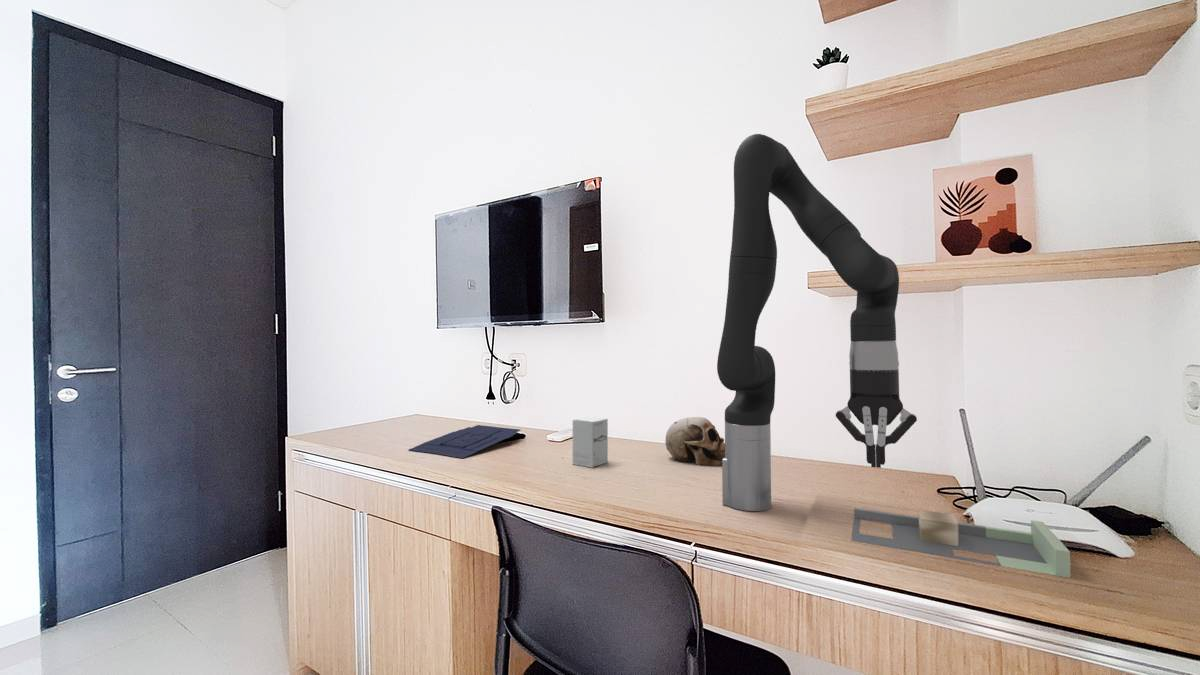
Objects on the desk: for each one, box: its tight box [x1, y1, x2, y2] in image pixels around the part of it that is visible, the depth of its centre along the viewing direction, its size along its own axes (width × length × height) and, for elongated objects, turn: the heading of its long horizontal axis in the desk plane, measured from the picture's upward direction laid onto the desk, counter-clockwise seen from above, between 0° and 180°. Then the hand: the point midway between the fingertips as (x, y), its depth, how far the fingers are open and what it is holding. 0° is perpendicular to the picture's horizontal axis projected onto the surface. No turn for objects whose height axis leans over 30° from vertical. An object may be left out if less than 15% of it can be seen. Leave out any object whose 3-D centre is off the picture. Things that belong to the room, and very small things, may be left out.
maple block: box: [918, 509, 959, 546], centre depth 83 cm, size 5×5×4 cm
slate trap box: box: [850, 507, 1071, 578], centre depth 81 cm, size 27×13×5 cm, turn 61°
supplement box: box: [572, 416, 609, 469], centre depth 141 cm, size 7×7×13 cm
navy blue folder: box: [408, 424, 521, 459], centre depth 166 cm, size 24×30×4 cm
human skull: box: [665, 416, 725, 467], centre depth 144 cm, size 16×17×13 cm
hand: (876, 466), depth 87 cm, fingers closed
